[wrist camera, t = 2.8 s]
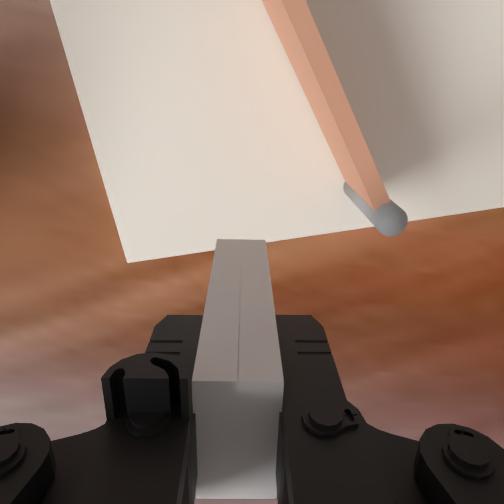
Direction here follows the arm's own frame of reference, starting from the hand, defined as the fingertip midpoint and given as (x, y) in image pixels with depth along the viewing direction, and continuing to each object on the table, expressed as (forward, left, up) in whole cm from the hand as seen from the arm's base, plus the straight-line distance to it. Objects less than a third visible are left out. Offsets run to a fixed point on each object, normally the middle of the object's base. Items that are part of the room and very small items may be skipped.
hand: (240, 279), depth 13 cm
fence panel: (-4, +5, -12) cm, 14 cm away
